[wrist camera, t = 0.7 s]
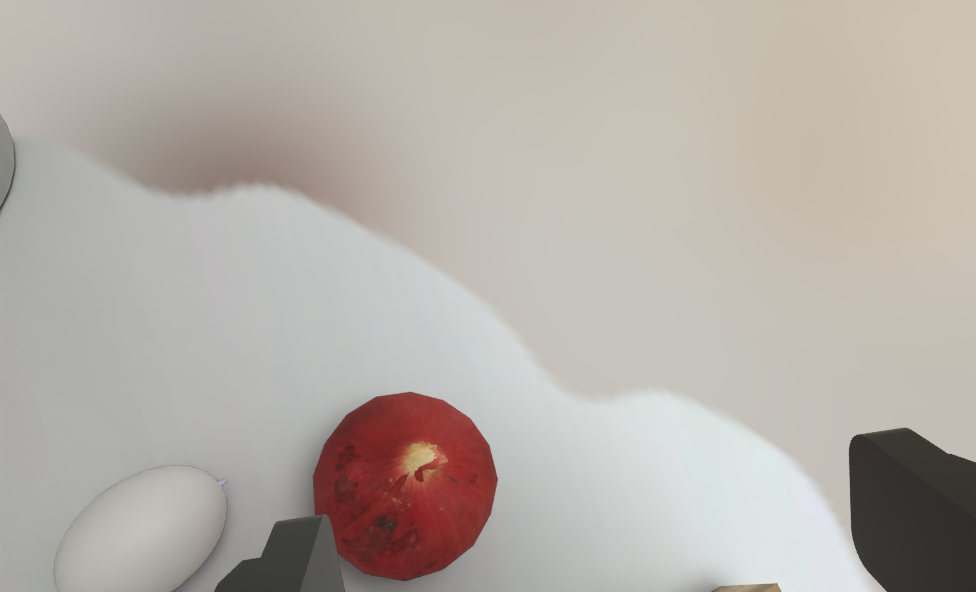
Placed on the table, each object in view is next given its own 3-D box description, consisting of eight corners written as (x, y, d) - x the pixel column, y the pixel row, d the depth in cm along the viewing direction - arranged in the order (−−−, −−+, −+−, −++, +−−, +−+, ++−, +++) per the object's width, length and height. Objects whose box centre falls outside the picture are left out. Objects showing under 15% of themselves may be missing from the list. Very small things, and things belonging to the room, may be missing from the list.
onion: (415, 616, 27) (447, 620, 20) (281, 521, 27) (264, 489, 20) (502, 477, 29) (560, 434, 22) (378, 391, 30) (395, 320, 22)
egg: (264, 531, 27) (255, 519, 24) (103, 651, 25) (66, 658, 21) (203, 444, 28) (186, 420, 24) (41, 553, 26) (-4, 544, 22)
